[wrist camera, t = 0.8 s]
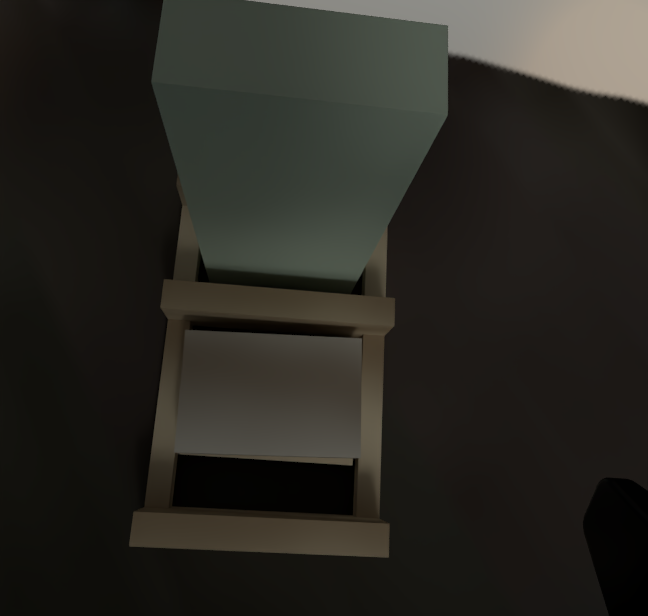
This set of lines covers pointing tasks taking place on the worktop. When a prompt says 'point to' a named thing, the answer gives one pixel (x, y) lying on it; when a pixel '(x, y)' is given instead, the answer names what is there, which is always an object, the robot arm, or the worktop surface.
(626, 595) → the robot arm
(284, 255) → the panel
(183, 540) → the rack
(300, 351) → the offcut upper
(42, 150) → the worktop surface
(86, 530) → the worktop surface
